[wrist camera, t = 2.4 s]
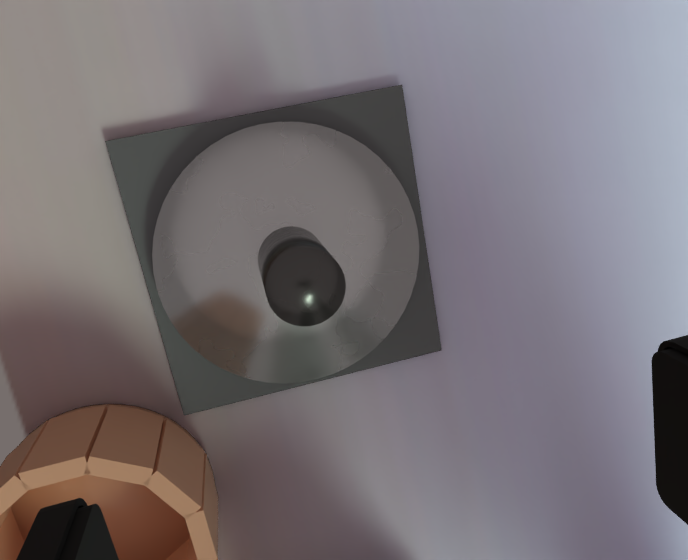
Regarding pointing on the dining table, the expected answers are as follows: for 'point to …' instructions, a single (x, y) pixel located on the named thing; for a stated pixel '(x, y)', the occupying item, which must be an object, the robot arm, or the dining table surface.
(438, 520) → the dining table surface
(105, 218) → the dining table surface
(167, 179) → the mat
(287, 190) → the lid
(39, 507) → the bowl
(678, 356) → the robot arm
